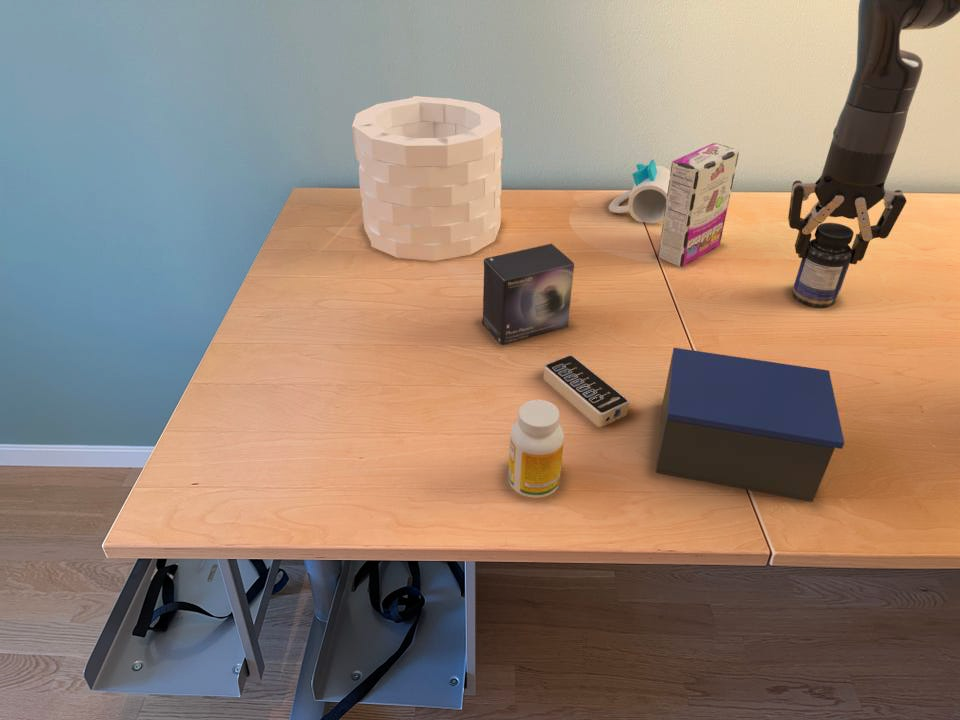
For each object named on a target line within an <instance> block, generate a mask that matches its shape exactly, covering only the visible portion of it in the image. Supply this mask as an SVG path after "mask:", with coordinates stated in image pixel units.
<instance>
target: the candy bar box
mask: <svg viewBox="0 0 960 720" xmlns="http://www.w3.org/2000/svg"><path fill="white" fill-rule="evenodd" d="M739 155H740V150H739V149H738V148H733V147H731V146H727V145H722V144H721V143H717V142H712V143H710V144H708V145H705V146H704V147H701V148H698V149H696V150H695V151H692V152H690V153H687V154H686V155H683V156H681V157H679V158H676V159H674V160H672V161H671V165H670V171H671V173H670V180H669V186H668V193H667V199H666V207H665V214H664V219H663V220H662V227H661V234H660V240H659V248H658V252H657V253H658V254H657V258H659V259H662V260H664V261H666V262H668V263H670V264H673V265H675V266H677V267H679V268H683V267H685V266H687V265H688V264H691V263H692V262H694V261H695V260H697V259H699V258H701V257H703V256H704V255H705V254H708V253H710V252H711V251H713V250H715V249H716V248H719V247H720V246H721V241H722V236H723V231H724V227H725V222H726V218H727V212H728V207H729V202H730V197H731V194H732V189H733V183H734V178H735V174H736V169H737V163H738V160H739Z"/></svg>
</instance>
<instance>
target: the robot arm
mask: <svg viewBox="0 0 960 720" xmlns="http://www.w3.org/2000/svg"><path fill="white" fill-rule="evenodd" d="M857 11H858V12H857V43H856V46H857V47H856V65H855V70H854V74H853V76H852V80H851V83H850V86H849V89H848V93H847V97H846V99H845V103H844V105H843V108H842V110H841V112H840V114H839V117H838V119H837V122H836V125H835V127H834V129H833V133H832V139H831V142H830V145H829V149H828V152H827V156H826V159H825V163H824V166H823V168H822V172H821V175H820V177H819V178H818V179H817V180H815V182H814V183H813V182H811V183H803V182H802V181H801V180H795V181H794V182H792V186H791V192H790V193H791V194H790V199H789V207H788V214H787V215H788V216H787V221H788V224H789V225H788V226H789V228H790V229H792V230H797V231H798V232H797V236H796V239H795V242H794V243H795V244H794V250H795V254H797V256H798V258H799V259H802V258H805V255H806V252H807V249H808V245H809V242H810V241H811V240H812V232H813V231H814V230H816V229H817V226H818V225H820V224H822V223H824V222H825V221H826V219H827V218H829V217H830V218H841V217H842V218H846V219H849V220H855V219H856V220H857V224H858V229H859V233H856V234H855V237H854V240H853V243H852V245H851V247H850V248H851V250H852V258H851V261H850V264H849V265H857V264H858V262H861V261H862V260H863V259H864V258H865V254H866V252H867V249H868V246H869V245H870V242H871V241H872V240H874V239H878V238H879V239H882V240H883V239H886V238H889V237H888V236H889V235H890V233H891V232H892V229H893V228H894V226H895V224H896V222H897V220H898V218H899V217H900V215H901V213H902V212H903V210H904V208H905V206H906V204H907V198H906V196H905V194H904V192H903V191H902V190H901V189H897V190H895V191H892V190H888V189H885V184H886V180H887V178H888V175H889V173H890V169H891V166H892V164H893V161H894V159H895V155H896V153H897V150H898V147H899V145H900V142H901V139H902V136H903V134H904V130H905V127H906V123H907V117H908V113H909V109H910V107H911V105H912V104H911V103H912V101H913V98H914V96H915V94H916V90H917V87H918V84H919V81H920V79H921V75H922V72H923V68H924V67H923V66H924V65H923V59H922V58H921V57H920V56H919V55H918V54H916V53H913V52H911V51H907V50H903V49H901V46H900V45H901V44H900V40H901V39H900V38H901V33H902V31H915V30H916V31H917V30H929V29H934V28H938V27H940V26H942V25H944V24H946V23H948V22H949V21H950V20H952V19H953V18H955V17H956V16H957V15H958V14H960V0H859V1H858V9H857ZM811 194H815V196H816V198H817V202H815V204H814V205H813V206H812V207H811V209H810V210H809V212H808V214H807V215H806V216H805V217H804V218H802V217H801V215H802V214H801V213H802V209H803V208H802V207H803V202H805V201H807V200H809V197H810V196H811ZM882 200H883V206H884V209H883V211H882V213H881V214H880V217H879V219H878V221H877V223H876V224H873V225H871V220H870V216H869V210H871V209H873V207H875V206H876V205H877V204H878V203H880V202H881V201H882Z"/></svg>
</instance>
